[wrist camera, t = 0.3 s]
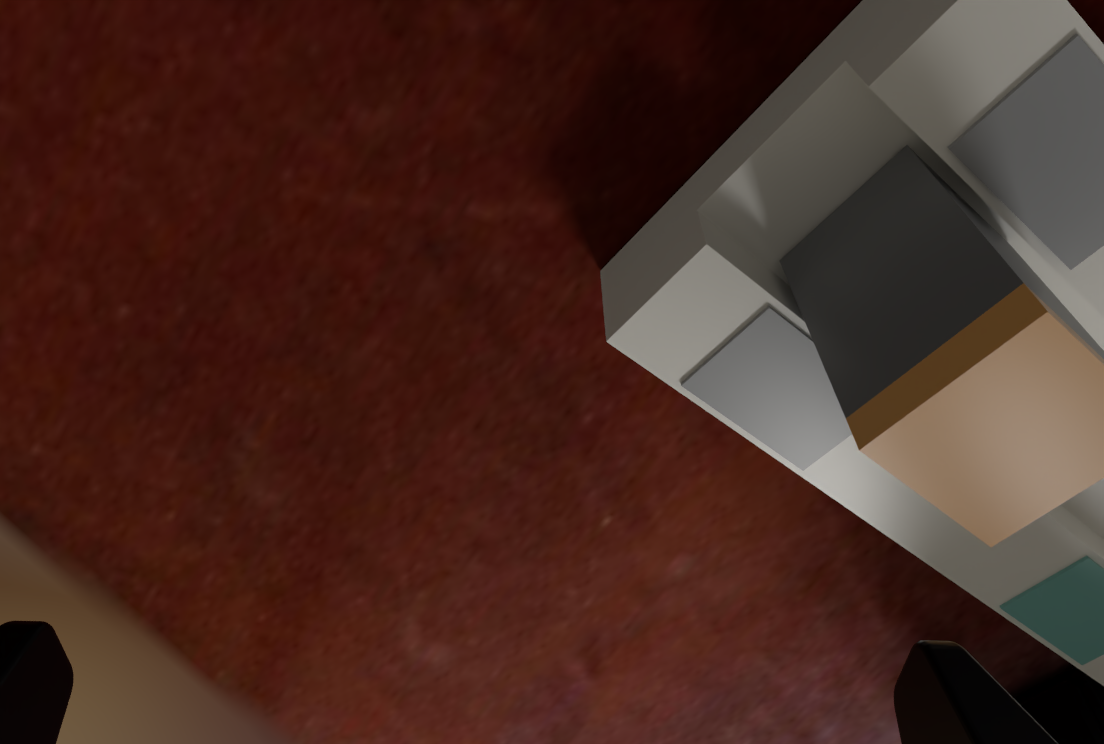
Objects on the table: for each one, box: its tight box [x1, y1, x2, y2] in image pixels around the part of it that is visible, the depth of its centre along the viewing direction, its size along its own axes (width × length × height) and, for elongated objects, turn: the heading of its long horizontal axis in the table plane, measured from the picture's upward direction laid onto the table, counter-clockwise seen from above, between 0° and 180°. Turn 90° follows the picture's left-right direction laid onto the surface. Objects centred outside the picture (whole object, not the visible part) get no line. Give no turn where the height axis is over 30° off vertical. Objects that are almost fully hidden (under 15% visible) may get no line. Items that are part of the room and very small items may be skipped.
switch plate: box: [600, 0, 1104, 686], centre depth 21 cm, size 20×10×3 cm, turn 51°
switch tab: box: [779, 145, 1104, 547], centre depth 16 cm, size 4×3×6 cm
